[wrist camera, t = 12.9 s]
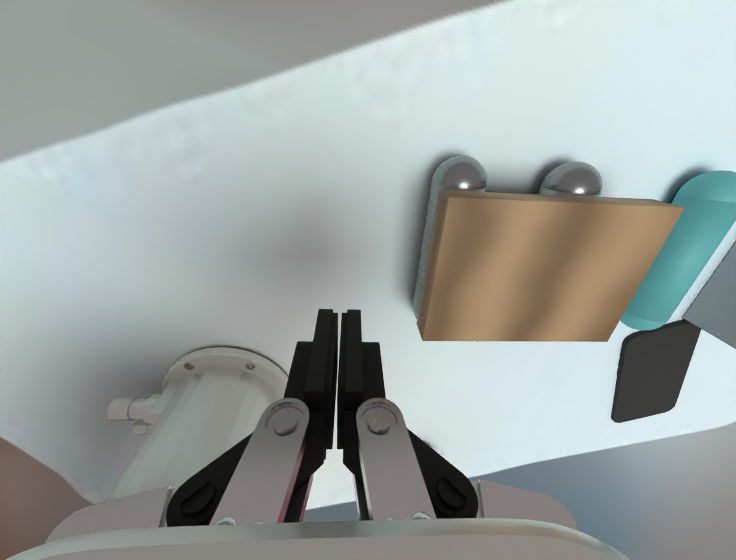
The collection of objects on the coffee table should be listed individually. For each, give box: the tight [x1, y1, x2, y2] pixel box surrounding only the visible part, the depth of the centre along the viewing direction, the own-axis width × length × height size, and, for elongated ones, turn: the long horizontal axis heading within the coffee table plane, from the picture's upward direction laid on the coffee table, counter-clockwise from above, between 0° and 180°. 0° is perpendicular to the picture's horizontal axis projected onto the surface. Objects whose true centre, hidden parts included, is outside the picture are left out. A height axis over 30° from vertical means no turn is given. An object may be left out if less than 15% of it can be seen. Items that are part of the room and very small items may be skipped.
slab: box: [417, 190, 685, 342], centre depth 19 cm, size 14×10×2 cm
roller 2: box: [538, 162, 602, 197], centre depth 23 cm, size 4×14×4 cm, turn 177°
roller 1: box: [413, 155, 487, 319], centre depth 22 cm, size 4×14×4 cm, turn 177°
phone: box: [611, 319, 701, 423], centre depth 33 cm, size 7×1×15 cm
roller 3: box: [620, 170, 736, 330], centre depth 23 cm, size 14×4×4 cm, turn 177°
